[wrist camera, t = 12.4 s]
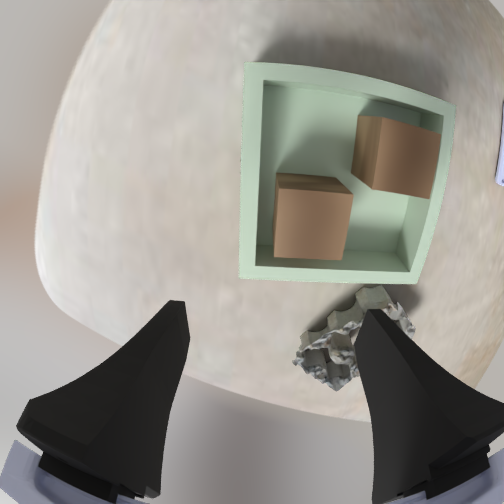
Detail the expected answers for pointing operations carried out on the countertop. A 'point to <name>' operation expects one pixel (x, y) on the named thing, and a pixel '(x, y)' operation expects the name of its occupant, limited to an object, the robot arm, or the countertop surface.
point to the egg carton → (345, 338)
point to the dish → (333, 171)
